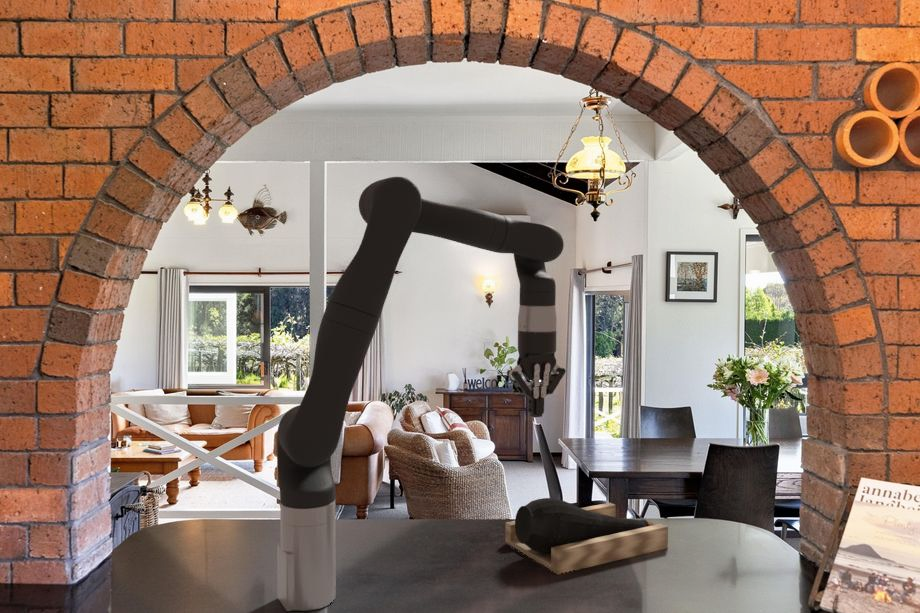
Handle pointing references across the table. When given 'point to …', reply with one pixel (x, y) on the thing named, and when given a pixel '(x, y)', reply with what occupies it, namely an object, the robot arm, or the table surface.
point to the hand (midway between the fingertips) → (536, 416)
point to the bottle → (565, 524)
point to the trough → (595, 545)
